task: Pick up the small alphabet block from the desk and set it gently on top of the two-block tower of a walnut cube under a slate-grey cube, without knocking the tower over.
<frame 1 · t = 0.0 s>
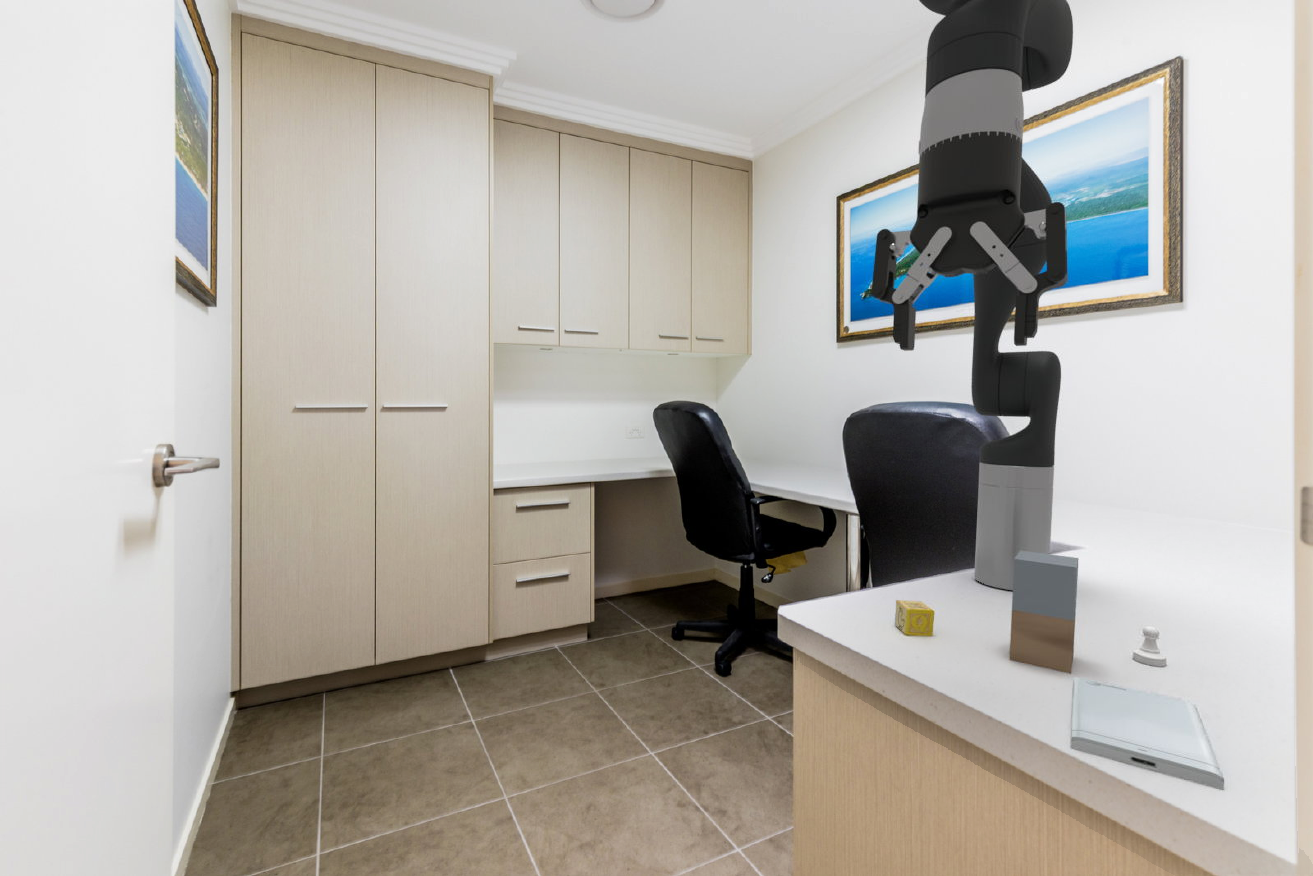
hand: (960, 347, 51), 29 cm above the table, tool pointing down, fingers open, 8 cm apart
alphabet block: (913, 633, 68), on the table
tower top: (1044, 608, 60), point 5 cm above the table, touching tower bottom
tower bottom: (1041, 658, 60), on the table, touching tower top
hard drive: (1135, 740, 47), on the table
chess pawn: (1149, 663, 60), on the table
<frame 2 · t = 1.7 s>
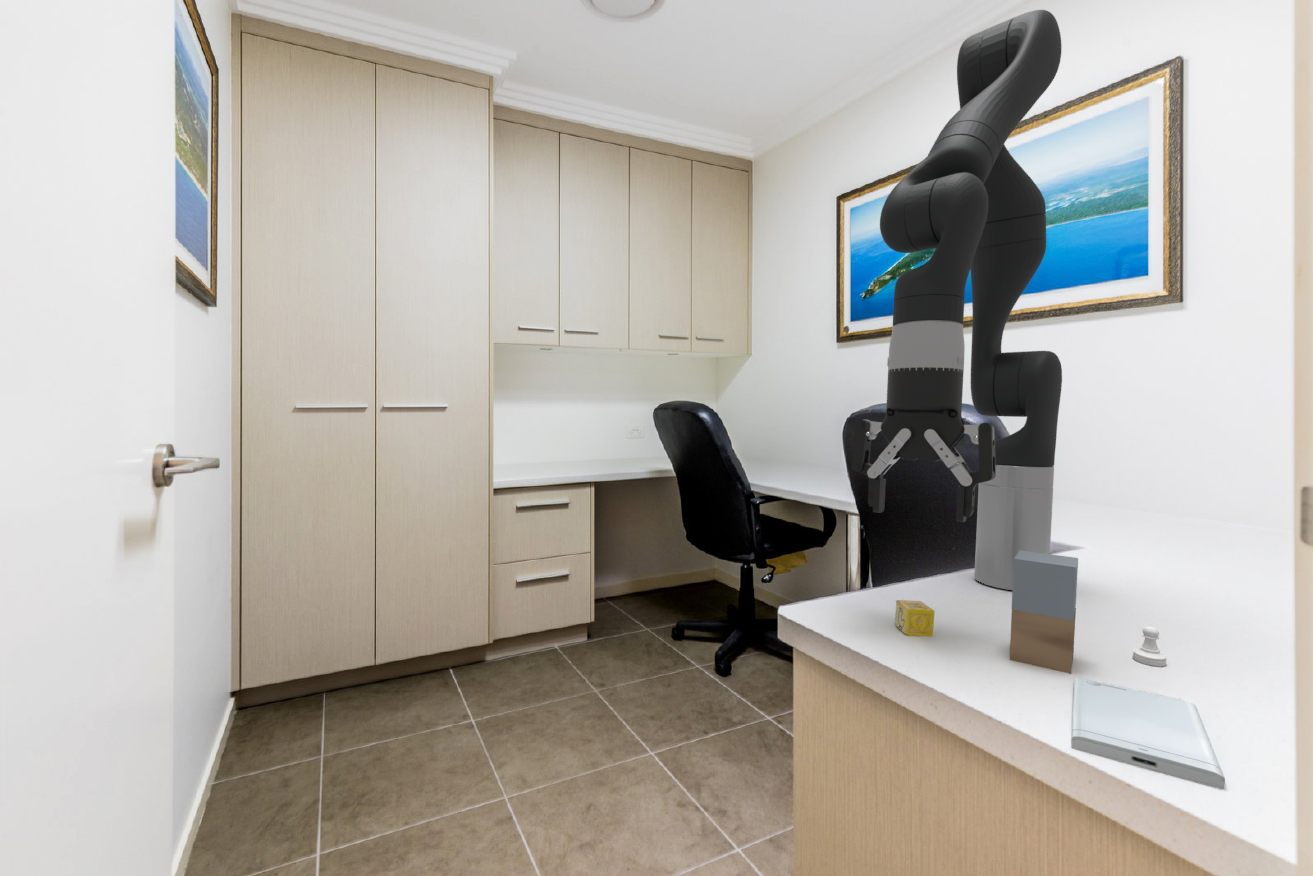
hand: (918, 516, 67), 13 cm above the table, tool pointing down, fingers open, 8 cm apart
nothing on the table moved.
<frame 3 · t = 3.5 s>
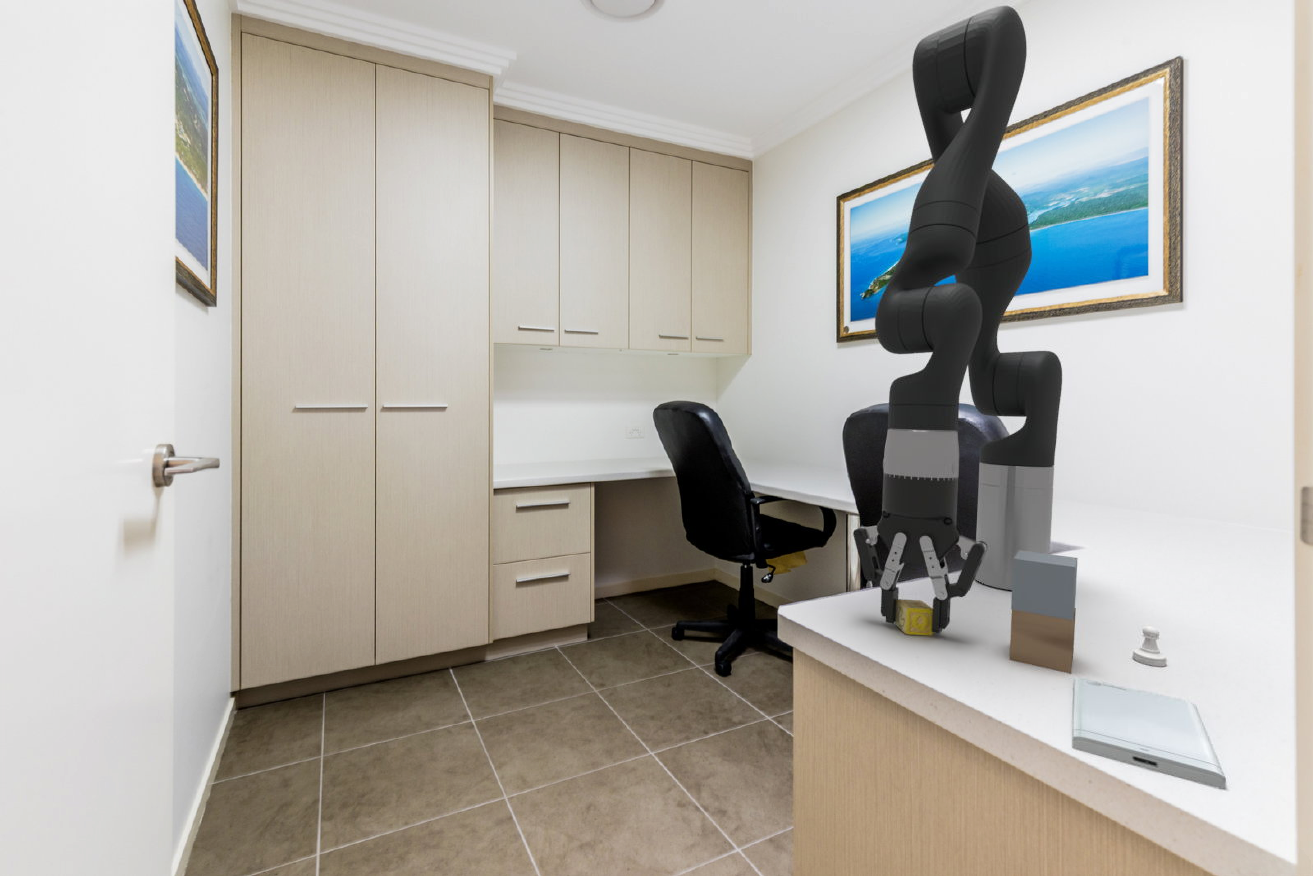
hand: (913, 625, 68), 1 cm above the table, tool pointing down, fingers closed on alphabet block, 4 cm apart
alphabet block: (913, 632, 68), on the table, touching gripper
everything else where it was.
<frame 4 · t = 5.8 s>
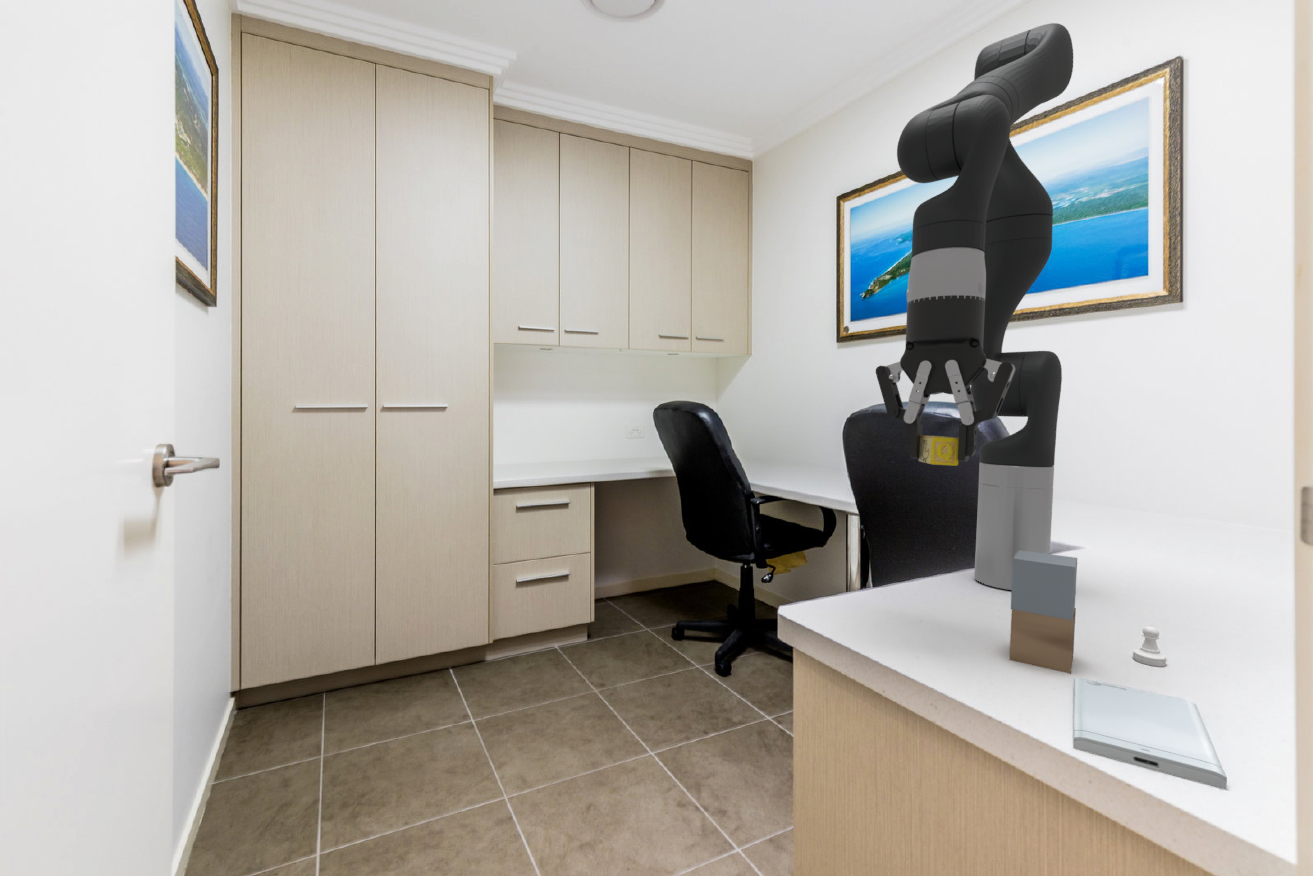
hand: (938, 458, 66), 19 cm above the table, tool pointing down, fingers closed on alphabet block, 4 cm apart
alphabet block: (938, 466, 66), point 18 cm above the table, touching gripper
everything else where it was.
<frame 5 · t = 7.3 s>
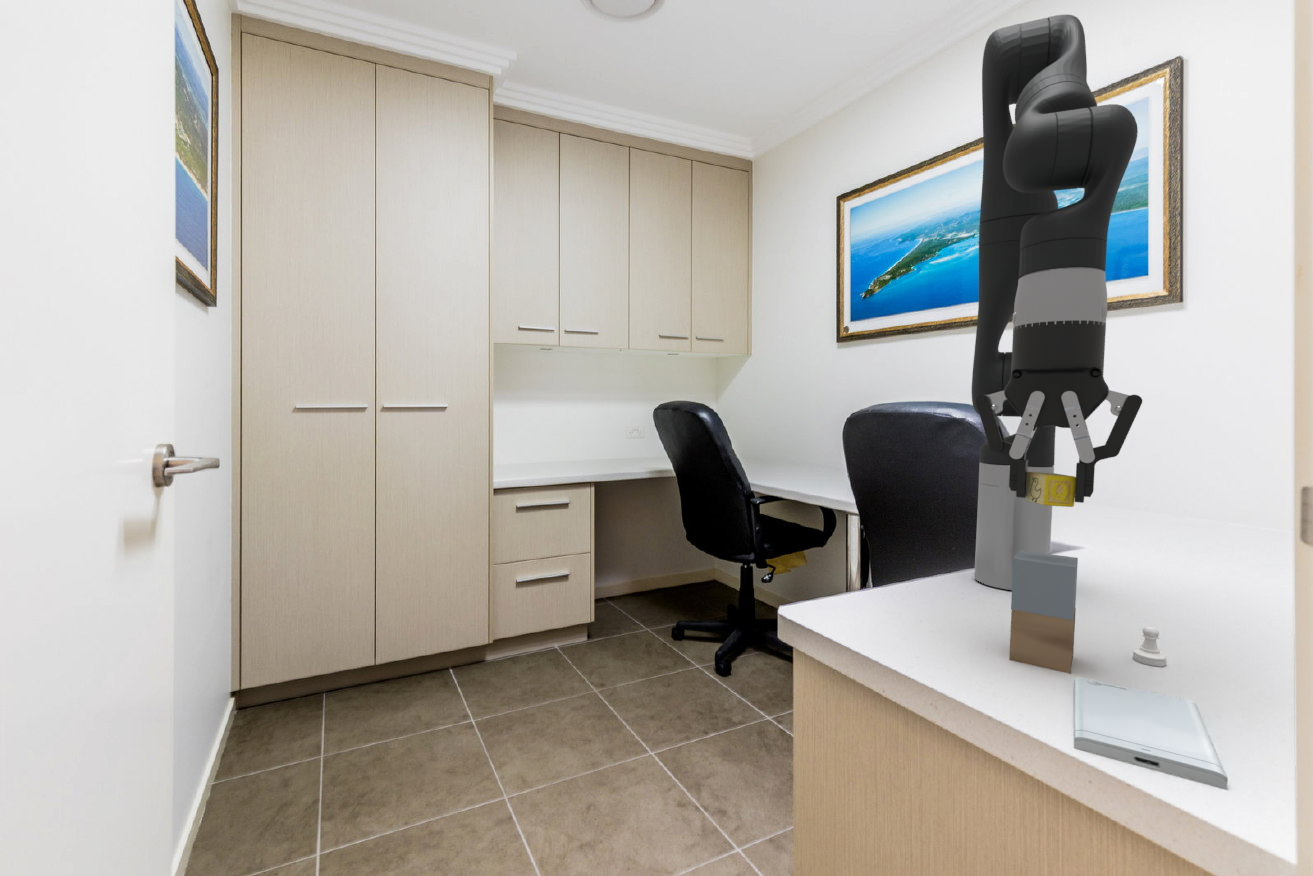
hand: (1049, 498, 60), 16 cm above the table, tool pointing down, fingers closed on alphabet block, 4 cm apart
alphabet block: (1049, 506, 60), point 15 cm above the table, touching gripper
everything else where it was.
when the fingers open (11 cm above the table, at t = 8.6 s): alphabet block stays where it is, resting on tower top.
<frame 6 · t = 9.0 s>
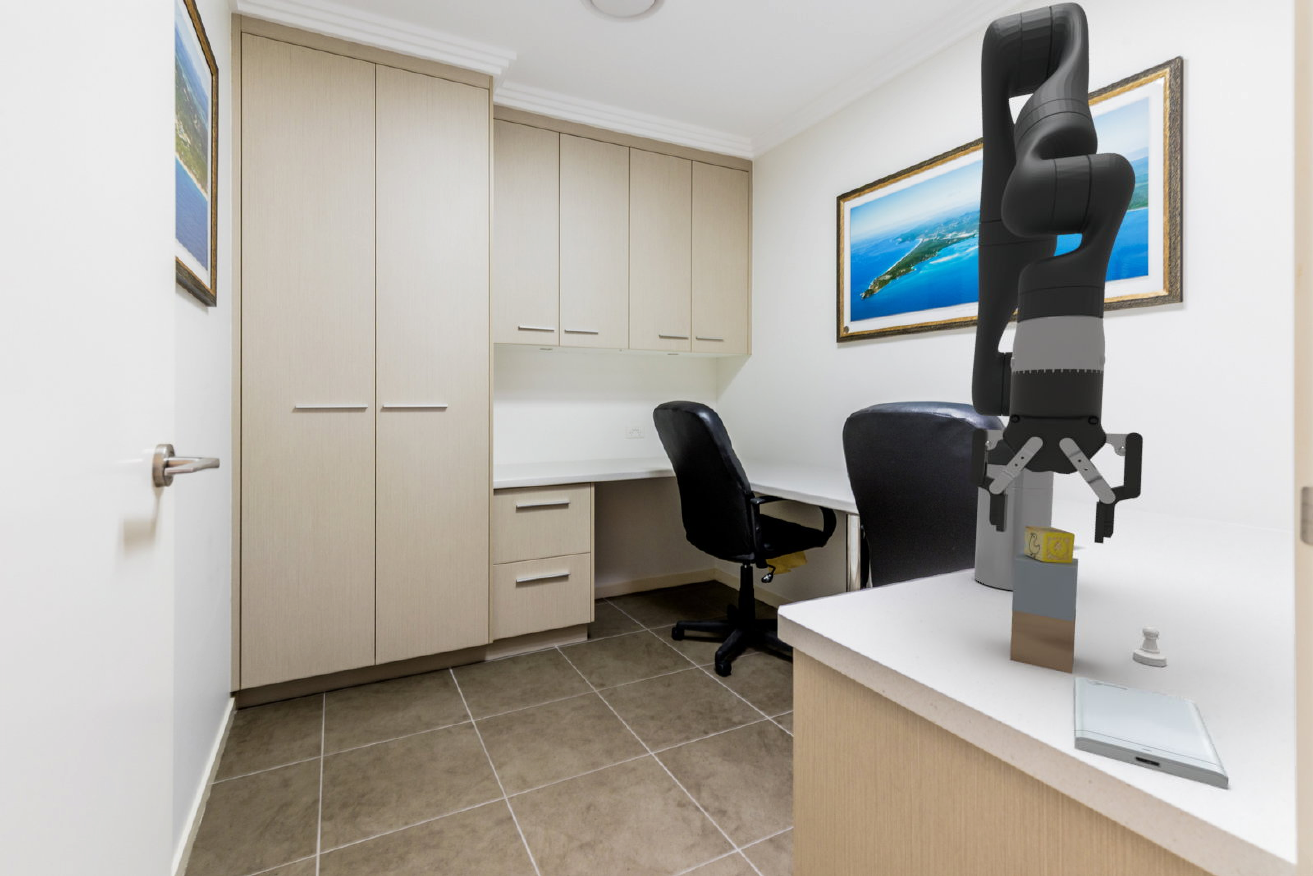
hand: (1047, 536, 60), 12 cm above the table, tool pointing down, fingers open, 7 cm apart
alphabet block: (1047, 561, 60), point 10 cm above the table, touching tower top
tower top: (1044, 609, 60), point 5 cm above the table, touching alphabet block, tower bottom
everything else where it was.
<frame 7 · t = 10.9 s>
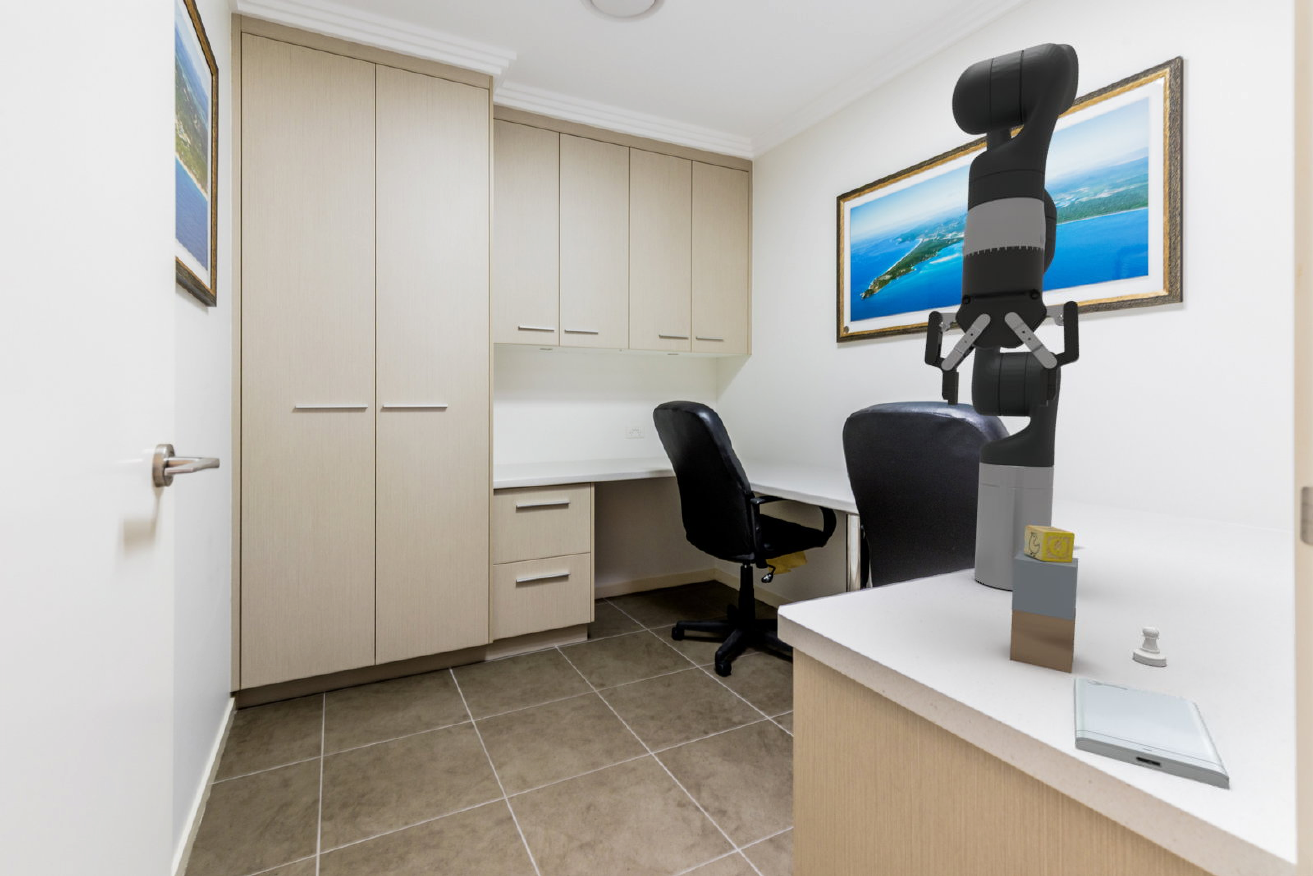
hand: (996, 405, 66), 25 cm above the table, tool pointing down, fingers open, 8 cm apart
nothing on the table moved.
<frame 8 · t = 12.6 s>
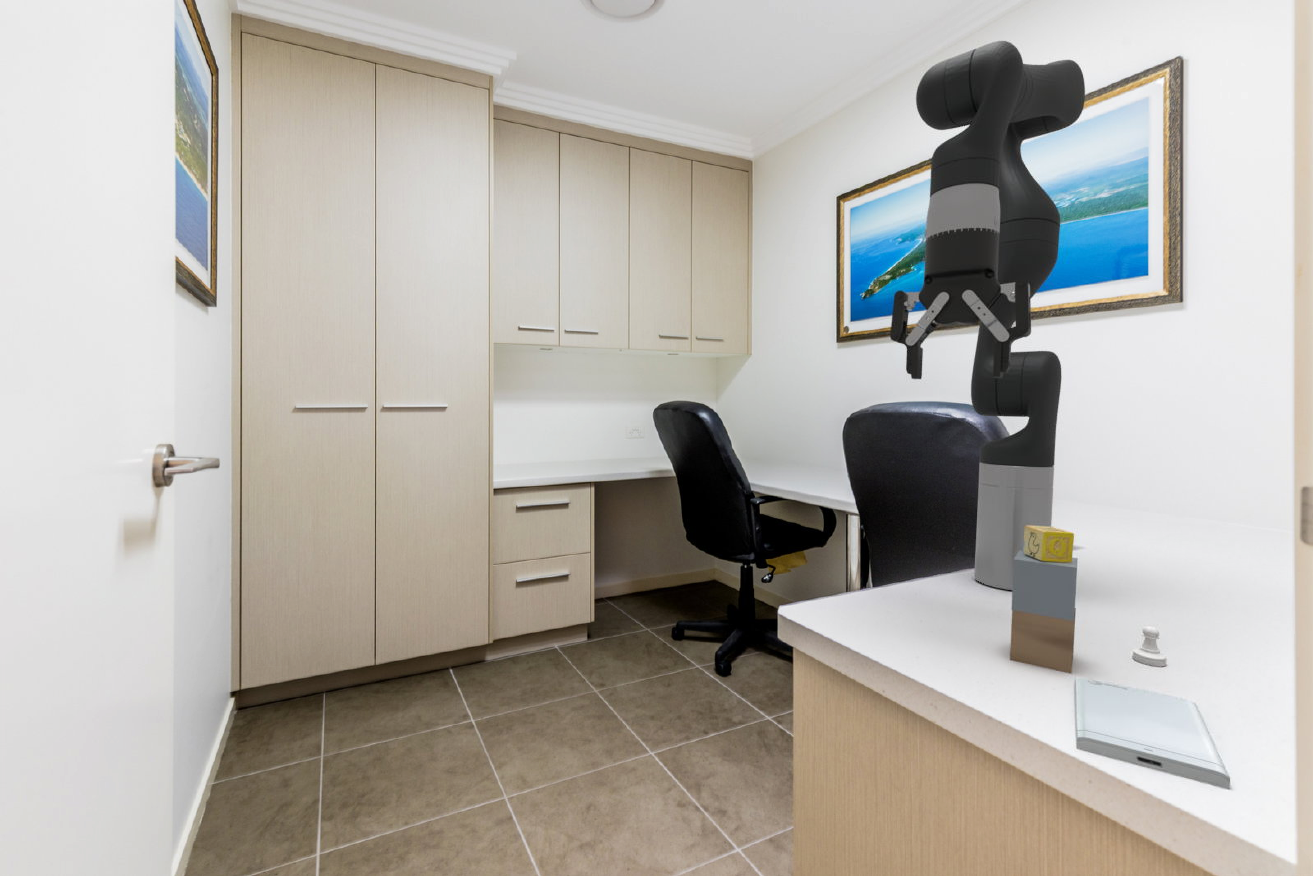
hand: (955, 378, 70), 28 cm above the table, tool pointing down, fingers open, 8 cm apart
nothing on the table moved.
at the end: alphabet block 0.1 cm off-centre on the tower top, point 4.8 cm above the tower top's base; tower top 0.0 cm from the target spot, point 4.9 cm above the table; the gripper is holding nothing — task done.
